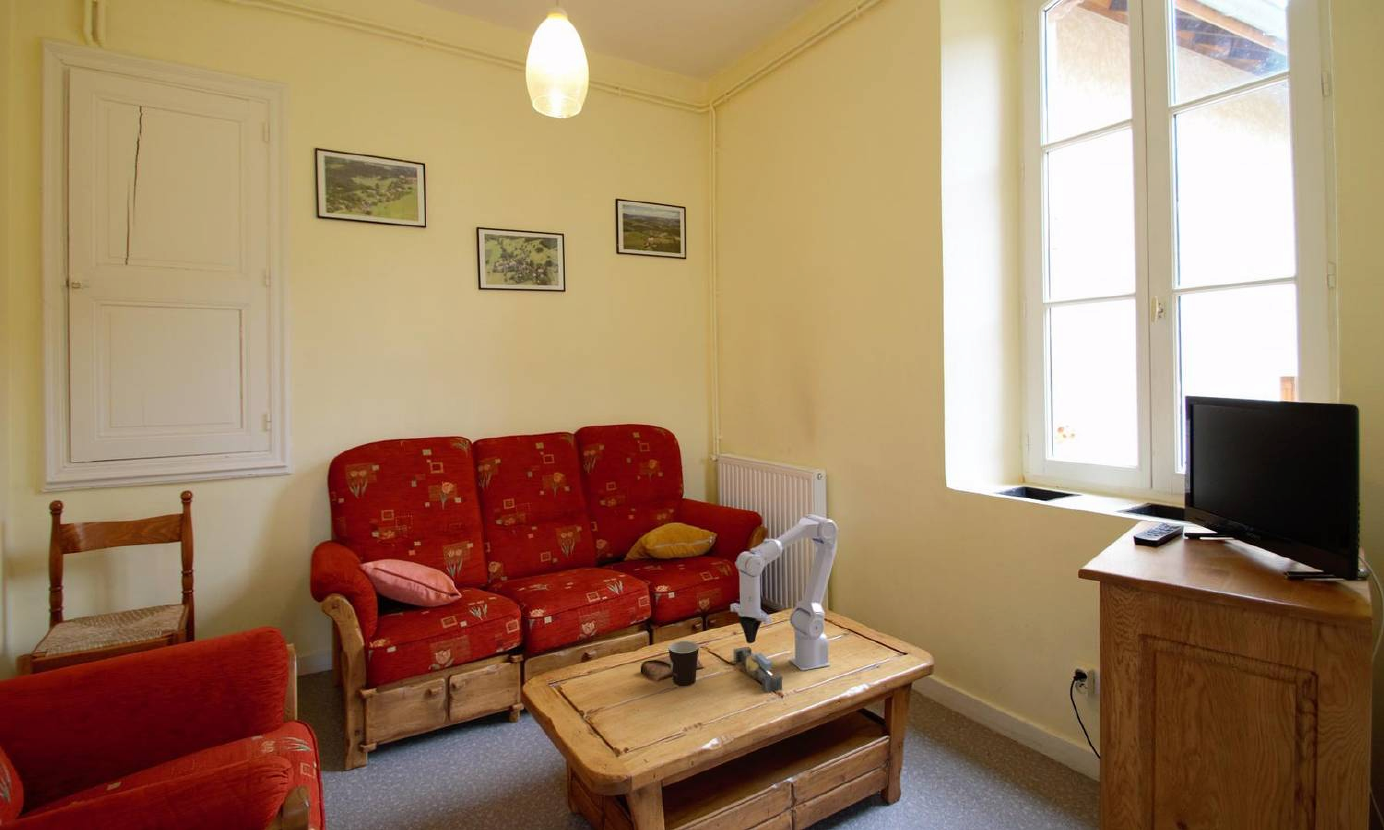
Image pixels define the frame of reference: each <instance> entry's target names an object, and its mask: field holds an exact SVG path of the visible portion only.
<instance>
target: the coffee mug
mask: <svg viewBox="0 0 1384 830" xmlns="http://www.w3.org/2000/svg"><path fill="white" fill-rule="evenodd" d="M667 647H668V648H667V649H668V654H669V655H668V656H670V663H671V671H672V677H671V678H672V683H673V684H674V685H675V686H677V687H683V688H684V687H690V686H693V685H695V683H696V680H697V671H698V670H697V661H698V660H699V659H698V658H699V650H700V649H699V648H700V646H699V644H698V643H696V642H694V641H691V640H677V641H674V642H671V643H670V644H669V645H668V646H667Z"/></svg>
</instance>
